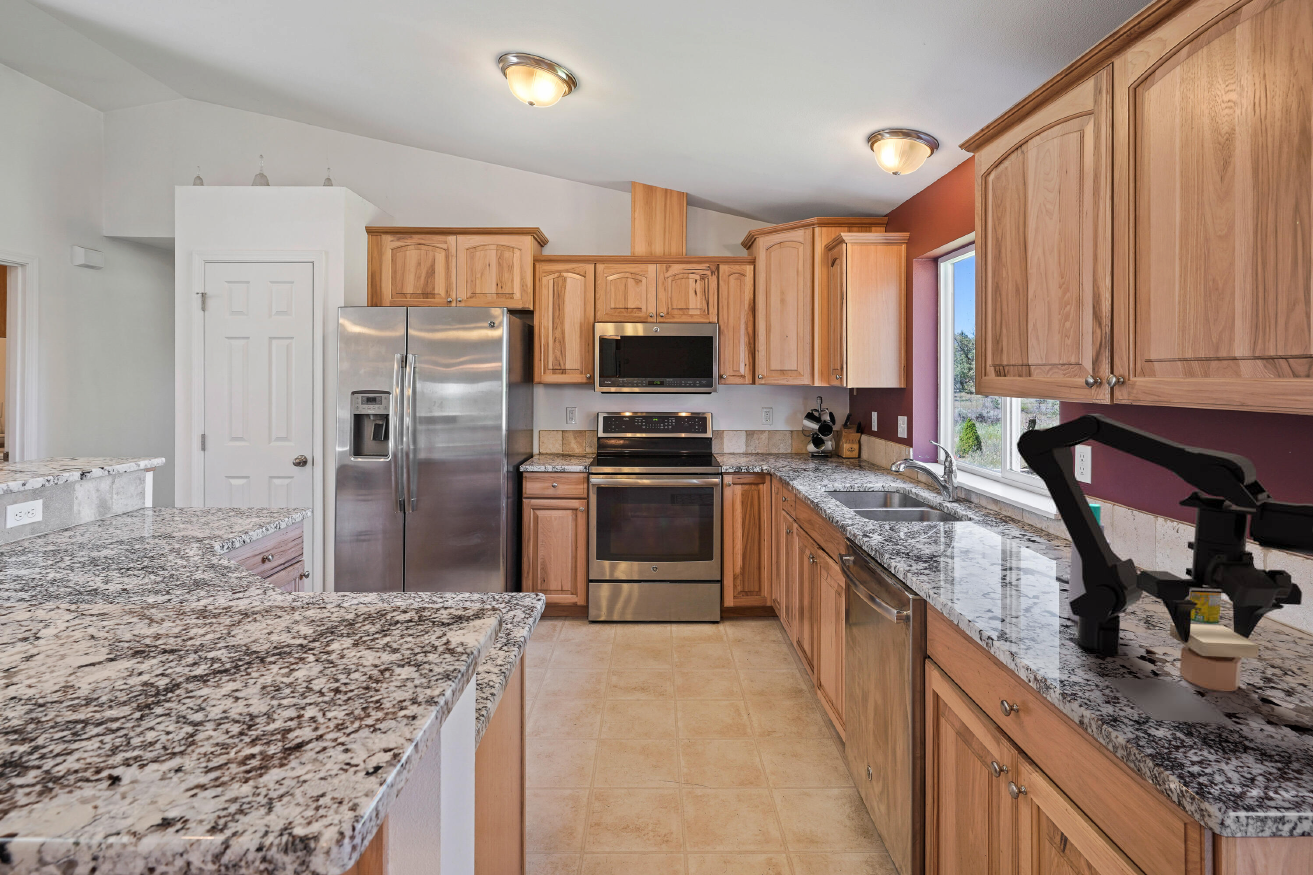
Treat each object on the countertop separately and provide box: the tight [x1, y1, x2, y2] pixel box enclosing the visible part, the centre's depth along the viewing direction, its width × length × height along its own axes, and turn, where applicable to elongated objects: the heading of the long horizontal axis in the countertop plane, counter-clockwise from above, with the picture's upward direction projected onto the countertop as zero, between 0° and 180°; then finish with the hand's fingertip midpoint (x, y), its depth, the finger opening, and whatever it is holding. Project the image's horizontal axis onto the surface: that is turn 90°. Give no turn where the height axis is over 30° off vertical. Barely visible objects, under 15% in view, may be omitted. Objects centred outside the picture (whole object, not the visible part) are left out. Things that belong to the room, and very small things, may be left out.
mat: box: [1103, 677, 1237, 726], centre depth 91 cm, size 12×10×1 cm
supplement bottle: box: [1188, 576, 1222, 625], centre depth 119 cm, size 5×5×10 cm
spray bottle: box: [1067, 503, 1111, 623], centre depth 121 cm, size 6×6×22 cm
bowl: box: [1179, 645, 1243, 692], centre depth 96 cm, size 6×6×5 cm
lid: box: [1169, 622, 1260, 659], centre depth 96 cm, size 7×7×2 cm
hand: (1211, 642), depth 96 cm, fingers closed on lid, 7 cm apart
